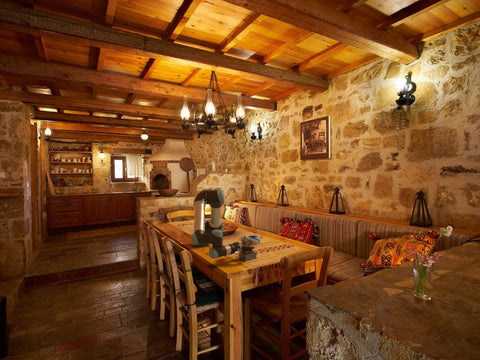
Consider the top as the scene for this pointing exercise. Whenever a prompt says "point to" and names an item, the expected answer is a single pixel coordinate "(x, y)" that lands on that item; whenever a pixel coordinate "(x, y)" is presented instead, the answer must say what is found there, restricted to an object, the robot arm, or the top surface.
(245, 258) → the endcap
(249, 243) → the brown wooden block
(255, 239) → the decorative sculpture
